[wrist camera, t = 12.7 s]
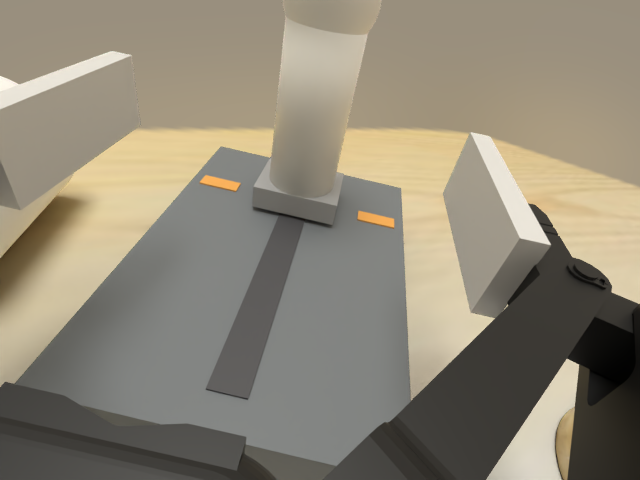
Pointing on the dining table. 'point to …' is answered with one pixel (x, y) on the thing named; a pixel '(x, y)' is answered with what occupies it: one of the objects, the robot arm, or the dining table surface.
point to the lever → (314, 105)
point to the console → (248, 323)
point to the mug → (8, 223)
